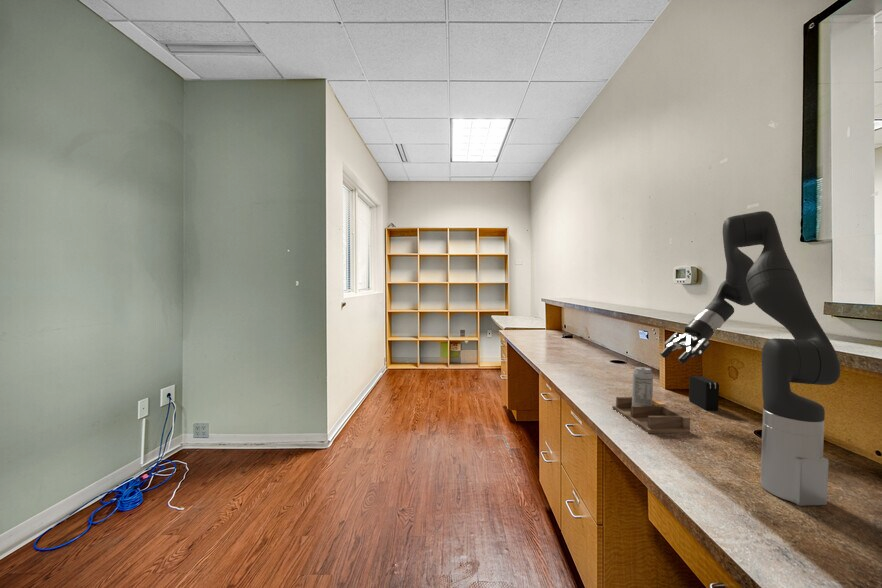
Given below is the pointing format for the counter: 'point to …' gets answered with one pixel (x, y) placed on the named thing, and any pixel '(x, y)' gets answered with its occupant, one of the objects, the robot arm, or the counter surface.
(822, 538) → the counter surface
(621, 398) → the divided wooden tray
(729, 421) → the counter surface
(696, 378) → the electronic device
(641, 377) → the energy drink can
